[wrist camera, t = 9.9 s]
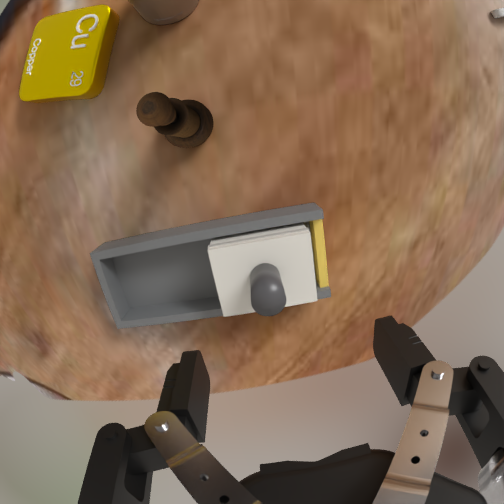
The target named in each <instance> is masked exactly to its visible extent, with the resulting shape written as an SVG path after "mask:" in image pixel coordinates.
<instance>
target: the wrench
mask: <svg viewBox="0 0 504 504" xmlns="http://www.w3.org/2000/svg"><path fill="white" fill-rule="evenodd" d="M491 13H492V15H493V17H494V18H500V17H504V8H501V9H496V10H493V11H491Z"/></svg>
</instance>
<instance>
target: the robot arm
mask: <svg viewBox="0 0 504 504" xmlns="http://www.w3.org/2000/svg"><path fill="white" fill-rule="evenodd" d="M128 1H129V2H130V3H131V4H132V5H133V7H134V8H135V9H136V10H137V11H138V12H139V14H140V15H141V16H142V17H143V18H144V19H145V20H146V21H148V22H150V23H152V24H157V25H166V24H172V23H175V22H177V21H180V20H182V19H184V18H185V17H187V16H188V15H189V14H190V13H191V12H192V11H193V10H194V9H195V8H196V6H197V4H198V2H199V0H128ZM373 349H374V354H375V357H376V359H377V361H378V363H379V364H380V366H381V368H382V370H383V372H384V374H385V375H386V377H387V379H388V381H389V383H390V385H391V387H392V389H393V390H394V392H395V394H396V396H397V398H398V400H399V402H400V404H401V406H404V405H406V404H409V403H410V405H411V407H412V408H411V411H410V414H409V418H408V421H407V423H406V426H405V429H404V432H403V435H402V437H401V440H400V443H399V445H398V448H397V451H396V453H394V452H391V451H387V450H380V449H373V450H372V449H371V450H370V447H369V445H368V443H366V444H363V445H359V446H356V447H352V448H348V449H344V450H341V451H339V452H337V453H335V454H333V455H330V456H328V457H326V458H324V459H321V460H319V461H316V462H303V461H282V462H276V463H268V464H260V471H259V472H256V473H254V474H252V475H249V476H248V477H246V478H244V479H243V480H241V481H240V482H238V481H237V480H236V479H235V478H234V477H233V476H232V475H231V474H230V473H229V472H228V471H227V470H226V469H225V468H224V467H223V466H222V465H221V464H220V463H219V462H218V461H217V460H216V458H215V457H214V456H213V455H212V454H211V453H210V452H209V451H208V450H207V449H206V448H205V447H204V446H203V445H202V444H201V445H200V444H199V443H200V442H205V434H206V423H207V413H208V402H209V393H210V379H209V374H208V372H207V369H206V366H205V363H204V360H203V357H202V354H201V352H200V351H199V350H196V351H186V352H183V353H182V357H181V361H180V363H174V364H173V365H172V366H171V367H170V369H169V370H168V371H167V375H166V378H165V382H164V386H163V387H164V388H163V389H162V393H161V397H160V401H159V405H158V408H157V412H156V413H154V414H152V415H151V416H150V417H148V419H147V420H146V422H145V424H144V425H142V426H139V427H135V428H130V429H125V428H124V426H123V425H121V424H119V423H109V424H107V425H105V426H103V427H102V428H101V429H100V430H99V431H98V433H97V436H96V439H95V442H94V446H93V449H92V453H91V456H90V459H89V463H88V466H87V470H86V474H85V477H84V481H83V485H82V488H81V492H80V496H79V500H78V504H149V501H150V500H149V499H150V492H151V483H152V475H153V471H156V470H160V469H165V468H168V467H170V469H171V470H172V471H173V473H174V474H175V475H176V477H177V478H178V480H179V481H180V482H181V483H182V485H183V486H184V487H185V489H186V490H187V491H188V492H189V494H190V495H191V496H192V497H193V499H194V500H195V501H196V502H197V503H198V504H504V372H503V371H502V370H501V368H500V367H499V366H498V364H497V363H496V362H495V361H494V360H493V359H492V358H490V357H487V356H478V357H475V358H474V359H473V360H472V361H471V362H470V365H469V367H462V368H452V367H451V366H450V365H449V364H447V363H446V362H443V361H436V359H435V358H434V357H433V355H432V354H431V353H430V351H429V350H428V349H427V348H426V346H425V345H424V344H423V342H421V340H420V338H419V337H418V336H417V335H416V333H415V332H414V331H413V329H412V328H410V327H409V326H407V325H405V324H403V323H402V324H398V323H397V322H396V320H395V319H394V318H393V317H392V316H387V317H383V318H379V319H376V320H375V326H374V341H373ZM449 415H456V417H457V419H458V421H459V423H460V425H461V427H462V429H463V431H464V433H465V434H466V437H467V438H468V440H469V443H470V445H471V446H472V449H473V451H474V453H475V455H476V457H477V459H478V461H479V463H480V465H481V468H482V470H481V471H480V474H479V476H478V483H479V492H478V491H477V490H475V489H473V488H471V487H468V486H466V485H463V484H461V483H458V482H456V481H454V480H452V479H449V478H447V477H445V476H443V475H440V474H438V473H436V472H434V470H435V467H436V464H437V460H438V457H439V453H440V449H441V446H442V442H443V438H444V434H445V430H446V425H447V421H448V416H449Z"/></svg>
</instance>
